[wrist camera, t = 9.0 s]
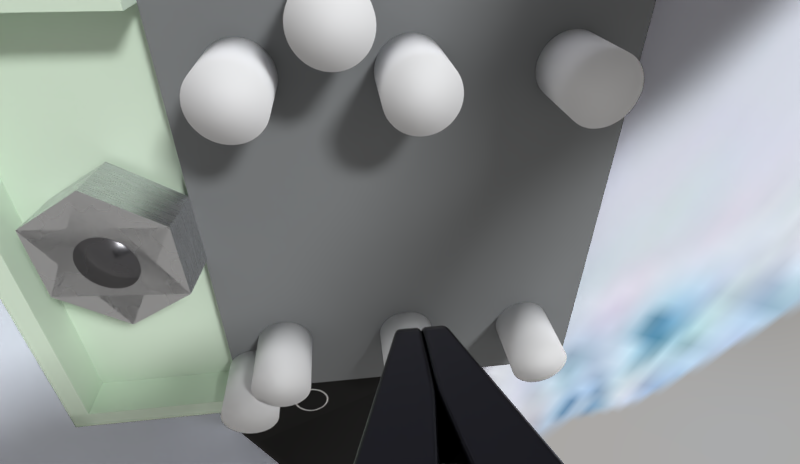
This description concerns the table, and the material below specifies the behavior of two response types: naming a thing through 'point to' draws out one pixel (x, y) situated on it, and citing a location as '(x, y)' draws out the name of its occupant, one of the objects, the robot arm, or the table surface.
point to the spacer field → (316, 183)
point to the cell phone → (321, 424)
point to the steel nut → (116, 244)
